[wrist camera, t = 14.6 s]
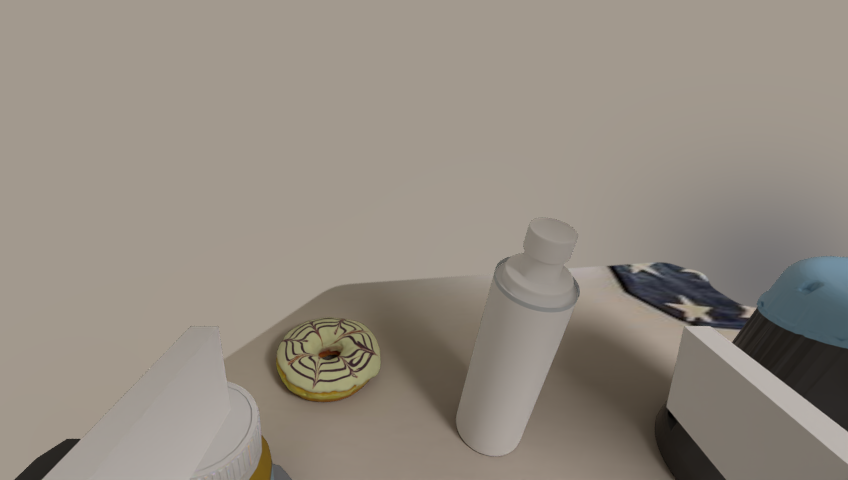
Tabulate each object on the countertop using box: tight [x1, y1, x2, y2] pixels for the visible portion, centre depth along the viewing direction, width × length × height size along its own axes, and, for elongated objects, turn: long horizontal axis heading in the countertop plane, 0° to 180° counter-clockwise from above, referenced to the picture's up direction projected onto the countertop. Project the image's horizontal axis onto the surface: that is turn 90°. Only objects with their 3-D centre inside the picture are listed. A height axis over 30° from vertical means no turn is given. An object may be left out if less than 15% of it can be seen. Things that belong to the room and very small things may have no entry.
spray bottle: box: [456, 217, 580, 456], centre depth 38 cm, size 7×7×25 cm
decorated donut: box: [276, 317, 381, 402], centre depth 47 cm, size 10×11×4 cm
